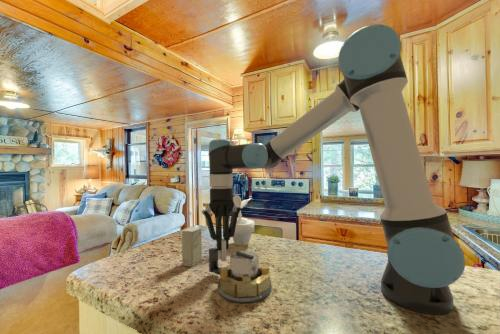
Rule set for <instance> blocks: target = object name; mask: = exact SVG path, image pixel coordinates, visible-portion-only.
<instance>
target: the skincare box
mask: <svg viewBox="0 0 500 334" xmlns="http://www.w3.org/2000/svg"><path fill="white" fill-rule="evenodd" d="M181 244H182V245H181V246H182V247H181V250H182V251H181V253H182V255H181V256H182V257H181V258H182V259H181V260H182V261H181V262H182V263H181V265H182V266H184V267H190V268H192V267H194V266H196V265H198V264H199V263H200V262H202V260H203V259H202V258H203V257H202V251H203V249H202V245H203V243H202V227H197V226H196V227H195V226H191V227H189V228H186V229H184V230H182V231H181Z"/></svg>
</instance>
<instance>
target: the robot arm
mask: <svg viewBox="0 0 500 334" xmlns="http://www.w3.org/2000/svg"><path fill="white" fill-rule="evenodd" d="M339 49H340V50H339V53H338V57H337V58H338V69H339V71H340V72H341V73H342V76H343V79H342V81H340V82H339V83H338V84H336V86H335V89H334V91H333V92H332V93H330V94H329V95H328V96H327V97H325V98H324V99H322V101H320V102H318V103H317V104H316V105H315V106H313V107H312V108H311V109H309V110H308V111H307V112H306V113H305V114H303V115H302V116H300V117H299V118H298V119H296V120H295V121H294V122H293V123H291V124H290V125H289V126H287V127H286V128H285V129H284V130H282V131H281V132H280V133H278V134H277V135H276V136H274V137H273V138H271V140H269V141H267V143H265V144H263V143H259V142H258V143H257V142H256V143H255V142H250V143H243V144H233V142H232V140H230V139H222V138H221V139H213V140H210V142H209V144H208V162H209V187H210V189H209V204H208V207H207V208H206V209H203V210H201V214H202V215H203V216H204V219H205V222H206V225H207V229H208V232H209V235H210V238H211V239H212V240H213V241H216V248H217V249H218V255H219V260H220V261H221V262H226V261H227V250H229V246H230V244H229V241H230V239H231V238H232V237H233V236H234V233H235V228H236V223H237V218H239V216H238V214H239V212H240V210H241V211H242V208H240V207H237V206H235V204H234V202H233V197H234V188H233V185H234V182H233V181H234V177H233V170H240V169H241V170H245V169H247V170H248V169H250V170H251V169H252V170H257V169H267V170H270V169H273V168H274V169H275V168H276V167H278V166H279V164H280V162H281V161H282V160H283V159H284V158H286V157H287V156H289V155H290V154H292V153H293V152H295V151H296V150H297V149H298V148H300V147H301V146H303V145H304V144H305V143H307V142H309V141H310V140H312V139H313V138H314V137H316V136H317V135H319V134H320V133H322V132H323V131H325V130H326V129H327V128H329V127H331V125H332V124H334V123H336V122H337V121H338V120H340V119H341V118H343V117H345V116H346V115H347V114H348V113H350V112H351V113H356V112H358V111H359V112H360V116H361V119H362V123H363V127H364V132H365V134H366V140H367V143H368V147H369V150H370V154H371V157H372V162H373V166H374V170H375V173H376V176H377V179H378V180H377V181H378V184H379V188H380V193H381V196H382V199H383V202H384V203H383V204H384V207H385V208H384V210H383V211H382V212H381V214H380V216H379V218H380V221H381V225H382V226H381V227H382V231H383V235H384V238H385V243H386V248H387V251H386V253H387V264H386V265H385V268H384V271H383V273H382V276H381V280H380V290H381V293H382V294H383V295H384V296H385V297H386V298H387V299H388V300H389V301H392V302H394V304H396V305H398V306H401V307H403V308H405V309H409V310H411V311H414V312H418V313H422V314H429V315H446V314H450V313H451V312H452V311H453V310H454V305H455V304H454V295H453V294H452V291H451V288H450V285H452V284H454V283H455V282H457V281H458V280H459V279H460V278H461V277H462V275H463V274H464V271H465V267H466V258H465V254H464V251H463V249H462V247H461V246H460V244H459V243H458V242H457V241H456V239H455V236H454V234H453V230H452V227H451V223H450V220H449V219H450V218H449V217H448V213H447V210H446V209H445V208H443V207H442V206H440V205H438V204H436V203H435V202H434V199H433V196H432V193H431V189H430V185H429V182H428V179H427V178H428V177H427V175H426V171H425V168H424V165H423V161H422V157H421V155H420V151H419V147H418V144H417V143H418V142H417V139H416V136H415V133H414V130H413V127H412V124H411V123H412V122H411V119H410V116H409V112H408V108H407V106H406V103H405V98H404V95H403V90H404V89H405V87H407V84H408V81H409V80H408V77H407V73H406V70H405V67H404V62H403V59H402V56H401V51H402V41H401V38H400V35H399V34H398V32H397V31H396V30H395V29H394V28H393V27H391V26H390V25H385V24H380V23H379V24H376V23H375V24H374V23H373V24H370V25H367V26H363V27H361V28H359V29H358V30H356V31H354V32H353V33H352V34H350V35H349V36H348V37H347V38H346V39H345V41H344V42H343V44H342V46H341V47H340V48H339ZM212 214H213V215H214V221H215V226H214V223H213V219H212V216H211V215H212ZM230 214H231V217H230ZM229 219H230V220H229ZM229 221H230V226H229ZM214 227H215V228H214Z"/></svg>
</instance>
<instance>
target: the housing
mask: <svg viewBox="0 0 500 334" xmlns="http://www.w3.org/2000/svg"><path fill="white" fill-rule="evenodd" d="M259 256H260V255H259V254H258V253H257V252H255V251H252V250H240V251H239V250H237V251H235V252H233V253H231V255H230V256H229V265H230V278H232V279H234V280H237V281H242V276H250V279H251V280H255V279H257V278H258V277H259V264H260V261H259V260H260V257H259ZM272 289H273V286H272V282H271V281H270V287H269V288H268V289H267V290H265V291H264V292H263V293H261V294H260V295H257V296H249V297H237V296H235V297H234V296H232V295H230V294H227V293H225V292H223V291H221V289H220V281H219V282H218V284H217V293H218V295H219V297H220V298H221V299H223V300H225V301H227V302H229V303H232V304H238V305H247V304H249V305H250V304H255V303H258V302H259V303H260V302H262V301H263V300H265V299H266V298H268V297H269V296H270V295H271V293H272Z"/></svg>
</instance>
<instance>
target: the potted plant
mask: <svg viewBox="0 0 500 334" xmlns="http://www.w3.org/2000/svg"><path fill="white" fill-rule="evenodd" d="M242 194H243V196H244V198H245V197H246V191H245V189H244V191H243V193H242ZM250 200H252V197H251V198H248V199H243V200H242V198H241V197H240V196H239V195H237V194H235V195H233V202H234V205H235V206H237V207H240V208H241V210H240V212H239V214H238V218H237V223H236V228H235V233H234V236H233V237H231V238H232V241H233V243H234V245H236V246H242V247H243V246H247V245H249V244H250V240H251V237H252V233H254V232H255V220H253V219H248V218H246V217H242V216H243V214H242V209H243V208H245V206H246V205H248V203H249V201H250ZM230 221H231V220H229V226H230Z"/></svg>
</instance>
